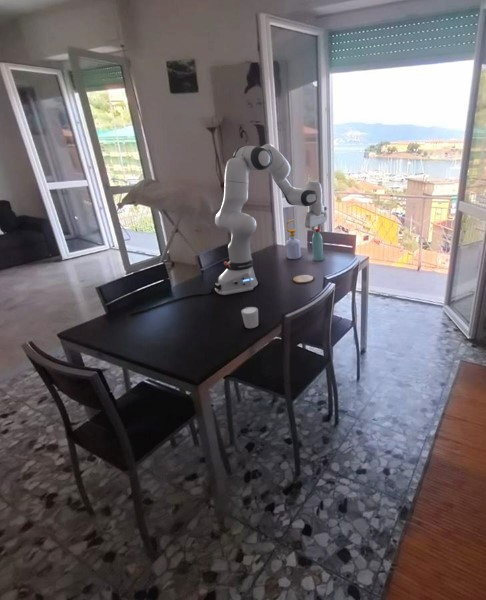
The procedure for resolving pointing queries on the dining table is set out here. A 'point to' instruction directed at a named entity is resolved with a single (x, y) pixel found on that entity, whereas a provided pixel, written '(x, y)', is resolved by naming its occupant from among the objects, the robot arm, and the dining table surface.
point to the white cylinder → (250, 317)
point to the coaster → (303, 279)
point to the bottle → (317, 247)
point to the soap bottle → (293, 245)
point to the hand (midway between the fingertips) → (316, 232)
